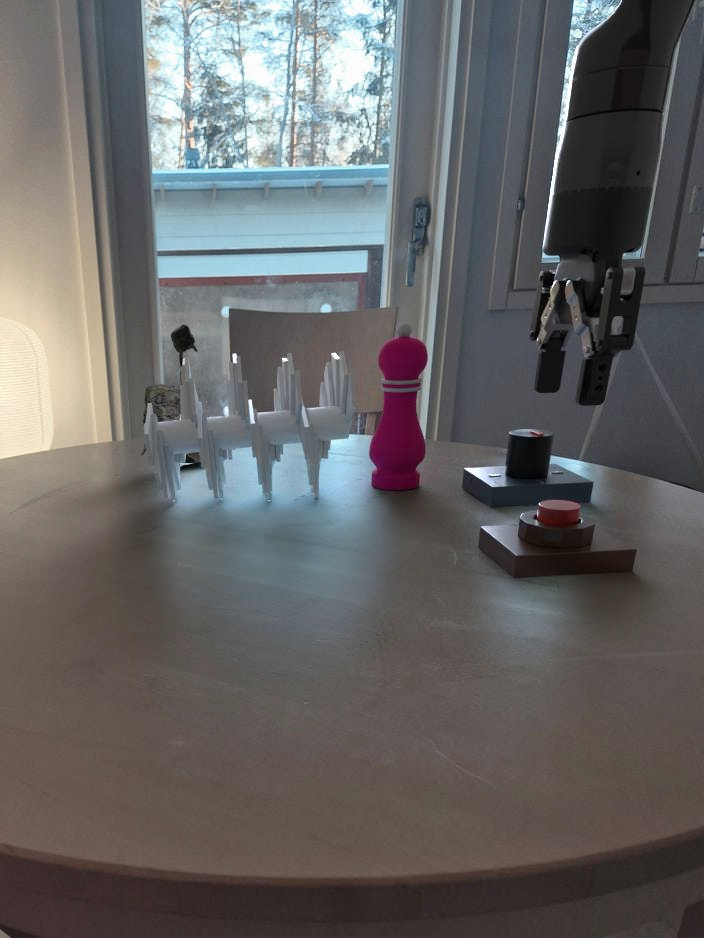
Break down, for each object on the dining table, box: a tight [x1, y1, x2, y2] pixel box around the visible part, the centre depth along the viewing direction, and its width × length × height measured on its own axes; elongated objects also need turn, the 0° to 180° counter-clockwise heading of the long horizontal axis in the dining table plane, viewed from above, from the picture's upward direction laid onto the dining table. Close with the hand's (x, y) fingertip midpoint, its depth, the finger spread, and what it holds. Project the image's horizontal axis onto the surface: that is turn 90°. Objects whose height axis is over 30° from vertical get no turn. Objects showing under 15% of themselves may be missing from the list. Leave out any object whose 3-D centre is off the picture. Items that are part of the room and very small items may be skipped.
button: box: [536, 500, 582, 526], centre depth 69 cm, size 4×4×2 cm
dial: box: [504, 428, 555, 479], centre depth 90 cm, size 5×5×5 cm
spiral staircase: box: [143, 350, 358, 501], centre depth 92 cm, size 18×18×25 cm
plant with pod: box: [140, 323, 201, 464], centre depth 111 cm, size 8×11×20 cm
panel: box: [461, 463, 594, 509], centre depth 92 cm, size 12×10×3 cm
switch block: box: [477, 509, 638, 579], centre depth 70 cm, size 11×9×4 cm
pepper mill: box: [368, 322, 429, 491], centre depth 95 cm, size 7×7×20 cm
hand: (566, 398), depth 66 cm, fingers open, 8 cm apart
